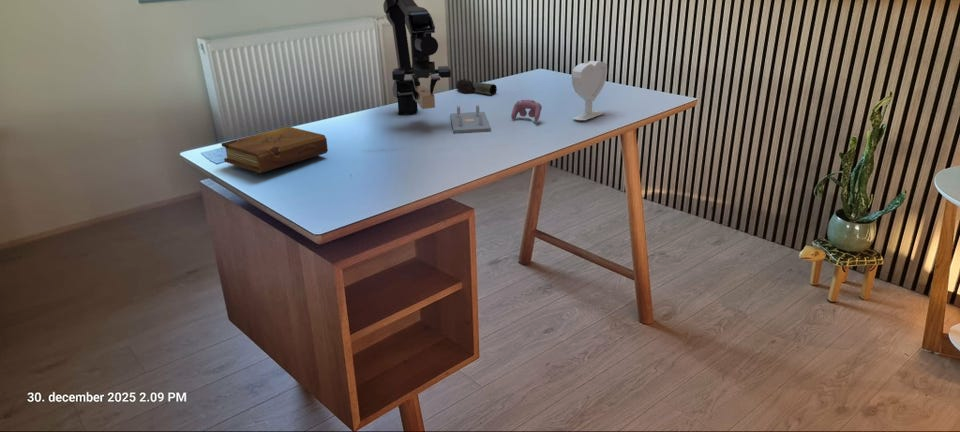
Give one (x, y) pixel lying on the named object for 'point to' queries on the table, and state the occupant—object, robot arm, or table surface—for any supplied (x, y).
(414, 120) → the table surface
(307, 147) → the diary
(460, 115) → the set of grey blocks
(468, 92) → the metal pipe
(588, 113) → the heart sculpture
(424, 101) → the tan wooden bar
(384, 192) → the table surface
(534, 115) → the video game controller
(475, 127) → the plate
